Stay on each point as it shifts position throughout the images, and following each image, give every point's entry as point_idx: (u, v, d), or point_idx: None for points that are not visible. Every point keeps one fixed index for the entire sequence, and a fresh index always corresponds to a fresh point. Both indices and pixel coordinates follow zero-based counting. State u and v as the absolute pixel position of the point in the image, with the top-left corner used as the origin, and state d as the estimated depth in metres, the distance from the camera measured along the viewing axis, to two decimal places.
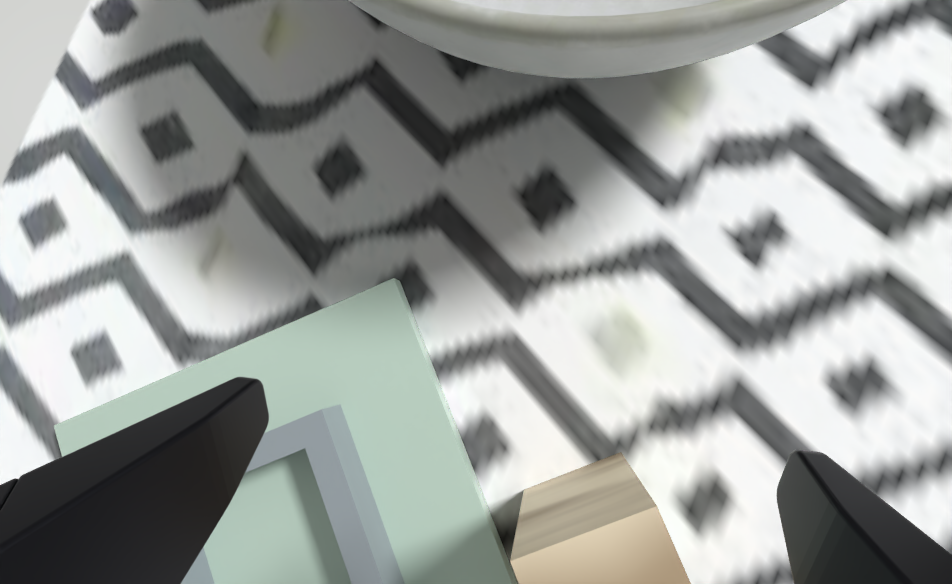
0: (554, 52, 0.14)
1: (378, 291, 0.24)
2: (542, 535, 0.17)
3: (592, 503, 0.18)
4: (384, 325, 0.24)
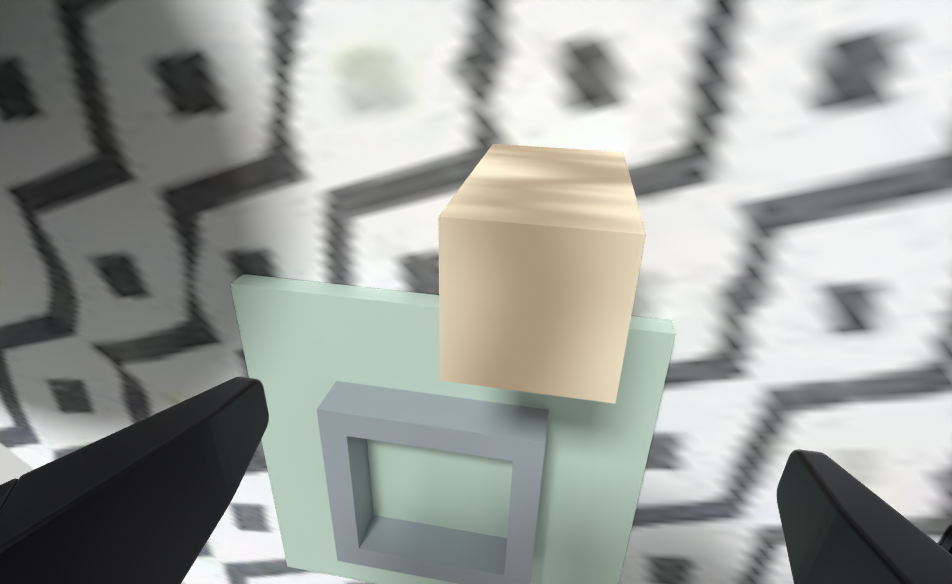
0: None
1: (239, 302, 0.23)
2: None
3: None
4: (274, 313, 0.23)
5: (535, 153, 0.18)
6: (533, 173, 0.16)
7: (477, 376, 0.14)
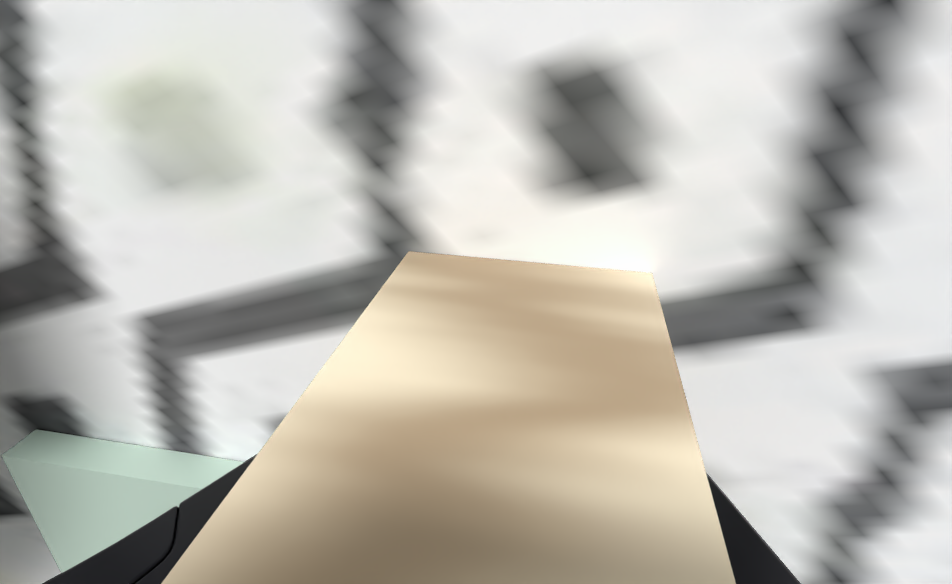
0: None
1: (23, 481, 0.14)
2: None
3: None
4: (77, 498, 0.14)
5: (482, 283, 0.09)
6: (460, 373, 0.07)
7: None
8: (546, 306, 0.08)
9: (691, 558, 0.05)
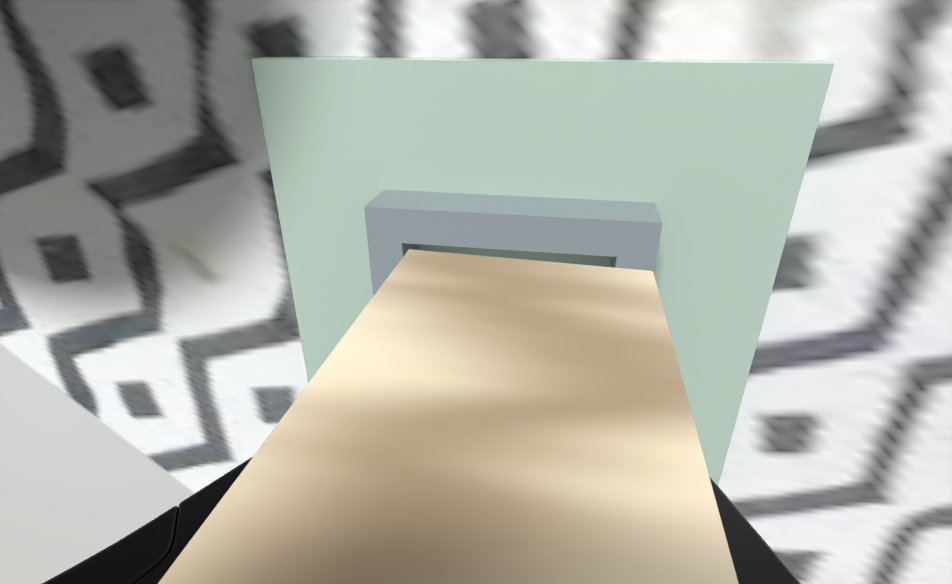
0: None
1: (263, 86, 0.18)
2: None
3: None
4: (306, 96, 0.18)
5: (482, 281, 0.09)
6: (460, 370, 0.07)
7: None
8: (546, 304, 0.08)
9: (693, 555, 0.05)
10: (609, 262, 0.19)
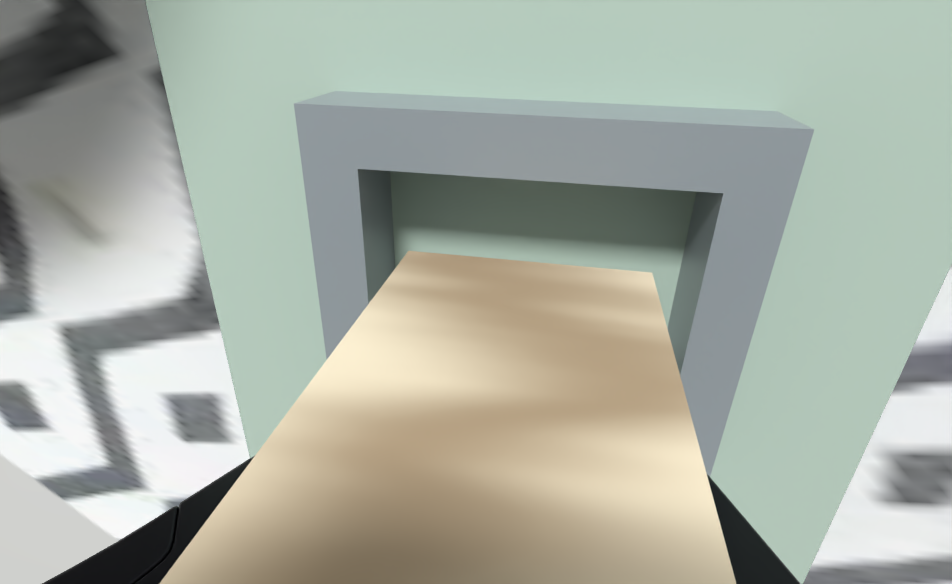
0: None
1: None
2: None
3: None
4: None
5: (481, 282, 0.09)
6: (460, 372, 0.07)
7: None
8: (546, 305, 0.08)
9: (691, 558, 0.05)
10: (690, 213, 0.12)
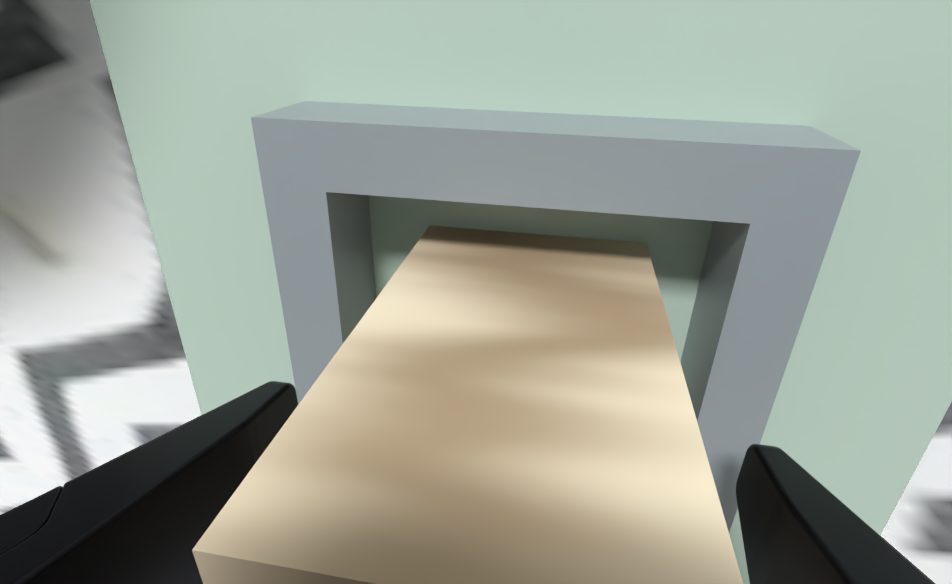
0: None
1: None
2: None
3: None
4: None
5: (496, 250, 0.10)
6: (482, 317, 0.08)
7: None
8: (553, 268, 0.10)
9: (672, 440, 0.06)
10: (707, 240, 0.11)
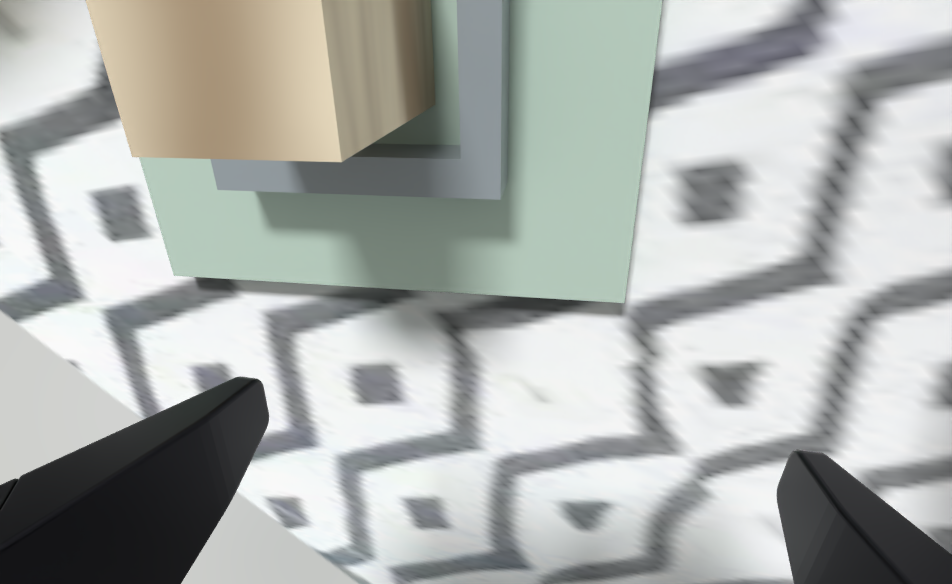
0: None
1: None
2: None
3: None
4: None
5: None
6: None
7: (172, 143, 0.11)
8: None
9: None
10: None
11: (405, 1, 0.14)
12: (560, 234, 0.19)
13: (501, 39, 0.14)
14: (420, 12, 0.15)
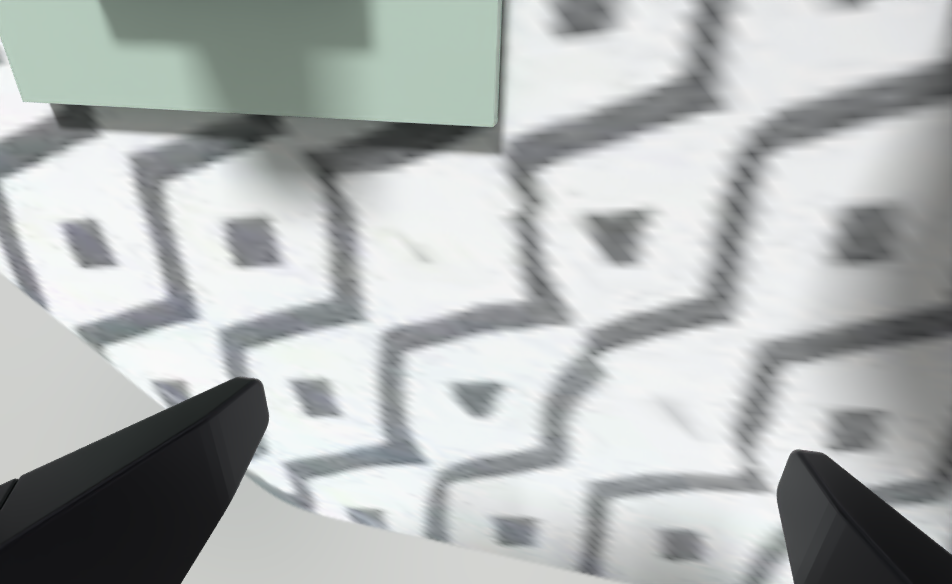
0: None
1: None
2: None
3: None
4: None
5: None
6: None
7: None
8: None
9: None
10: None
11: None
12: (419, 41, 0.17)
13: None
14: None
